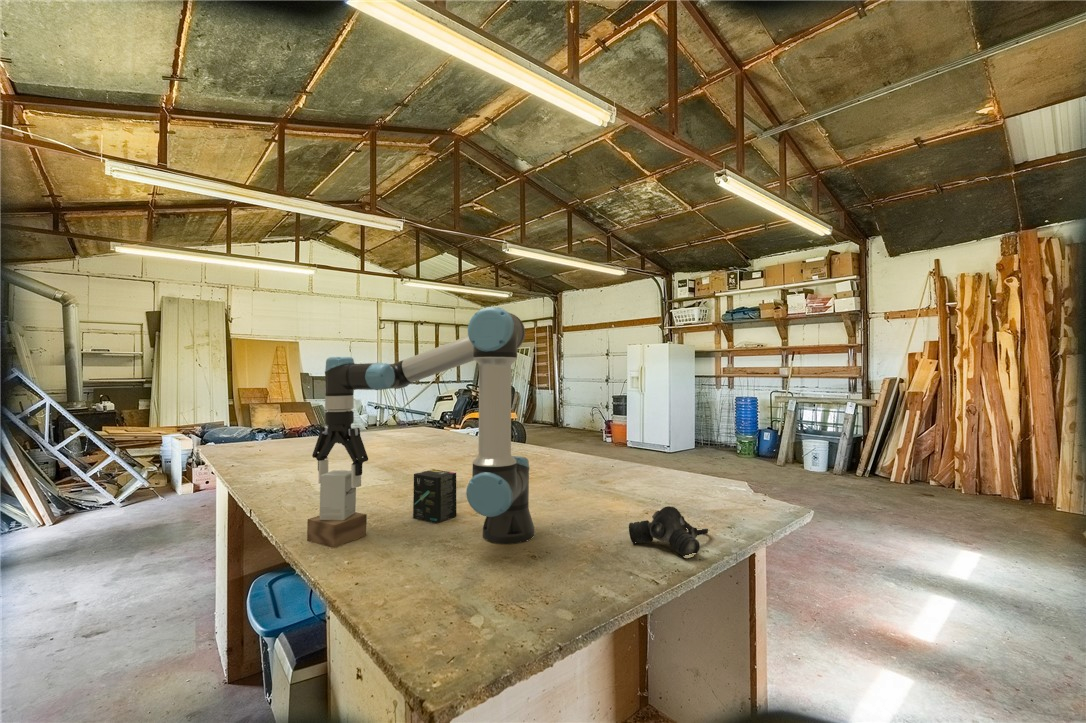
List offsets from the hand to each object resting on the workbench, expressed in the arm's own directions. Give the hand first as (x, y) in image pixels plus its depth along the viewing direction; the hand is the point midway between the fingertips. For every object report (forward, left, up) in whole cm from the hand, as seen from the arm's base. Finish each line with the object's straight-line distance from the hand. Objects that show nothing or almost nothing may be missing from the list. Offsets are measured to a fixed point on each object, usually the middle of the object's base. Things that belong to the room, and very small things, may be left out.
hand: (339, 484), depth 133 cm
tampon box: (-12, -28, -15) cm, 34 cm away
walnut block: (0, 0, -15) cm, 15 cm away
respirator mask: (-86, -43, -16) cm, 98 cm away
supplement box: (0, 0, -9) cm, 9 cm away
